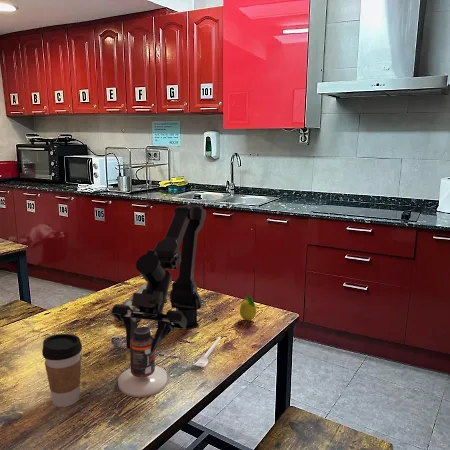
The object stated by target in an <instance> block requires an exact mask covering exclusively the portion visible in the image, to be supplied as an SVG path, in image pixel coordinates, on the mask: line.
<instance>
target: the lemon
mask: <svg viewBox="0 0 450 450" xmlns="http://www.w3.org/2000/svg"><path fill="white" fill-rule="evenodd" d="M239 314H240V316H241V318H242V319H244V321H245V320H246V321H247V322H249V321H251V320H253V319H254V318H255V317H256V314H257V306H256V304H255V302H254V299H253V298H252V296H250V293H249V292H247V295H245V298H244V299H243V300H242V302H241V304H240V306H239Z"/></svg>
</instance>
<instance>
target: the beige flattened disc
mask: <svg viewBox="0 0 450 450" xmlns="http://www.w3.org/2000/svg"><path fill="white" fill-rule="evenodd" d="M117 384H118V385H117V387H118V389H119V391H120V393H122V394H124V395H126V396H129V397H133V398H144V397H150V396H154V395H155V394H156V395H157V394H158V393H160V392H161V391H163V389H164V388H166V386H167V384H168V373H167V372H166V370H164V369H163V368H162V367H160V366H157V365H155V370H154V372H153V374H151V375H150V376H147V377H136V376H133V375H132V373H131V367H130V368H128V369H125V371H123V372H122V373H121V374H120V375H119V377H118V379H117Z"/></svg>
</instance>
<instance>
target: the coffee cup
mask: <svg viewBox="0 0 450 450" xmlns="http://www.w3.org/2000/svg"><path fill="white" fill-rule="evenodd" d="M82 349H83V344H82V342H81V338H80V337H79V336H78V335H75V334H71V333H70V334H69V333H59V334H53V335H49V336H48V337H46V338H45V339H44V340H43V342H42V351H41V353H42V354H41V355H42V357H43V358H44V367H45V370H46V376H47V381H48V386H49V389H50V396H51V401H52V405H54V406H55V407H58V408H64V407H69V406H72V405H74V404H76V403H77V402H78V400H80V397H81V396H80V394H81V393H80V391H81V390H80V389H81V386H80V385H81V369H82V367H81V365H82V355H81V351H82Z"/></svg>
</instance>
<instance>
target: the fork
mask: <svg viewBox="0 0 450 450" xmlns="http://www.w3.org/2000/svg"><path fill="white" fill-rule="evenodd" d="M221 338H222V336H218V337H217V338H216V340H215V341H214V342H213V343H212V344H211V346H210V347H209V348H208V350H207V351H206V352H205V354H204V355H202V356H201V357H200V358H199V359H198V360H197V361H196V362H195V363H193V364H192V366H197V367H202V368H203V367H204V368H205V367H206V366H207V365H208V364H209V359H208V357H209V356H210V355H211V353H212V352H213V350H214V349H215V347H216V346H217V344H218V343H219V341H220V339H221Z"/></svg>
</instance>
